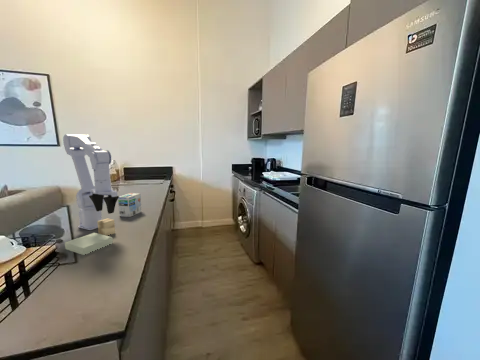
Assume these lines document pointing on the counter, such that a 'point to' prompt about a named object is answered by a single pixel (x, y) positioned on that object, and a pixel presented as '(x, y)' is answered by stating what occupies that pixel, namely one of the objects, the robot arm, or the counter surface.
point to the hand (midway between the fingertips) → (105, 211)
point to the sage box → (88, 243)
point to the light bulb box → (129, 204)
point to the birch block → (106, 227)
